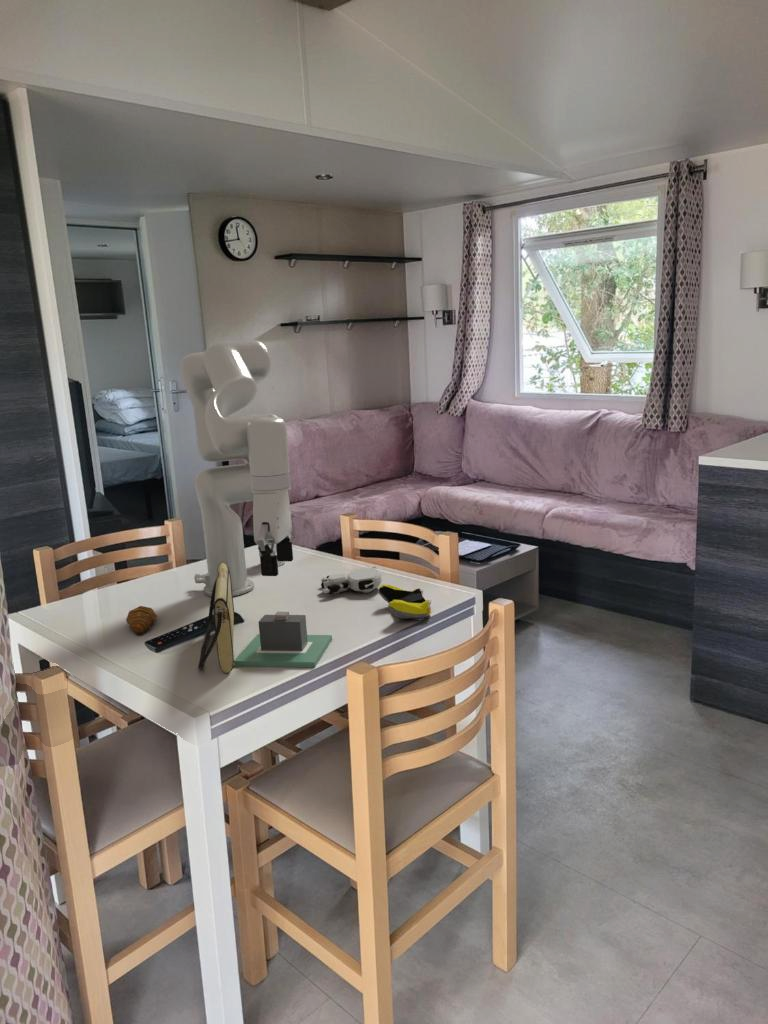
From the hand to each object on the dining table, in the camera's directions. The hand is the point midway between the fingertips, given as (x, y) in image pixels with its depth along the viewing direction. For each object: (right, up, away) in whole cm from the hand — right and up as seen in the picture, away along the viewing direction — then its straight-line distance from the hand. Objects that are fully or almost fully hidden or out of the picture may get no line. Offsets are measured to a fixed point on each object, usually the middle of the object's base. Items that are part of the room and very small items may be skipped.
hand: (277, 568), depth 151 cm
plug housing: (+1, -16, +1) cm, 16 cm away
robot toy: (+13, -9, +39) cm, 42 cm away
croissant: (-33, -15, +22) cm, 43 cm away
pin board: (+1, -17, +1) cm, 17 cm away
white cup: (-11, -4, +67) cm, 68 cm away
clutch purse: (-13, -17, +4) cm, 22 cm away
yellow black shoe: (+26, -12, +20) cm, 35 cm away
